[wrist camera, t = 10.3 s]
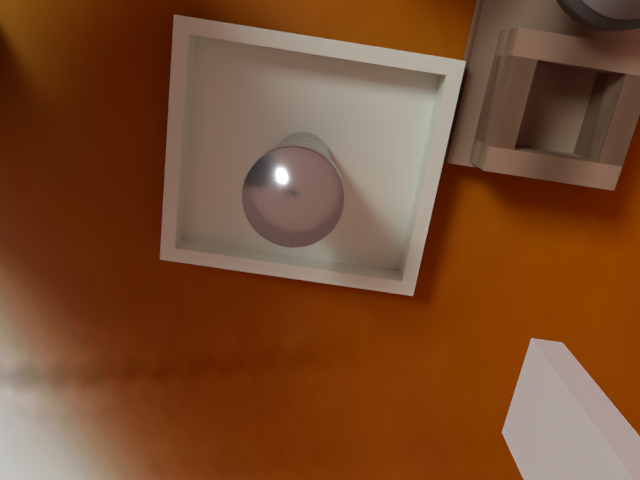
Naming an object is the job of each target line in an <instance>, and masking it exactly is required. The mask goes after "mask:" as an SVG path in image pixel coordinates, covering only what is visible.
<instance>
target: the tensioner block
mask: <svg viewBox="0 0 640 480" xmlns="http://www.w3.org/2000/svg"><path fill="white" fill-rule="evenodd" d="M463 61H466V64H465V68H464V73H463V77H462V82H461V86H460V90H459V95H458V99H457V104H456V108H455V113H454V117H453V122H452V126H451V130H450V135H449V139H448V144H447V148H446V153H445V157H444V161H445V162H446V163H449V164H456V165H463V166H469V167H476V168H480V169H481V170H483V171H488V172H495V173H501V174H508V175H514V176H521V177H527V178H534V179H541V180H547V181H554V182H560V183H567V184H573V185H580V186H586V187H593V188H599V189H606V190H613V191H614V190H615V187H616V184H617V181H618V178H619V175H620V172H621V169H622V166H623V163H624V160H625V157H626V154H627V151H628V148H629V145H630V142H631V139H632V136H633V133H634V130H635V127H636V124H637V121H638V118H639V115H640V0H476V4H475V9H474V13H473V18H472V22H471V27H470V31H469V36H468V40H467V45H466V49H465V54H464V58H463Z"/></svg>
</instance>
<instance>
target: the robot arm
mask: <svg viewBox="0 0 640 480" xmlns="http://www.w3.org/2000/svg"><path fill="white" fill-rule="evenodd" d="M502 434H503V436H504V438H505V441H506V443H507V445H508V447H509V449H510V451H511V454H512V456H513V458H514V460H515V462H516V464H517V467H518V469H519V471H520V473H521V475H522V477H523V479H524V480H640V436H639V435H638V434H637V433H636V431H635V430H634V429H633V428H632V426H631V425H630V424H629V423H628V422H627V420H626V419H625V418H624V417H623V416H622V414H621V413H620V412H619V411H618V409H617V408H616V407H615V406H614V405H613V403H612V402H611V401H610V400H609V399H608V397H607V396H606V395H605V394H604V392H603V391H602V390H601V389H600V388H599V386H598V385H597V384H596V383H595V381H594V380H593V379H592V378H591V377H590V375H589V374H588V373H587V372H586V371H585V369H584V368H583V367H582V366H581V364H580V363H579V362H578V361H577V360H576V358H575V357H574V356H573V355H572V354H571V352H570V351H569V350H568V349H567V347H566V346H565V345H564V344H563V343H562V342H555V341H548V340H541V339H534V338H531V341H530V344H529V347H528V350H527V353H526V357H525V360H524V363H523V366H522V369H521V373H520V376H519V379H518V382H517V385H516V389H515V392H514V395H513V398H512V401H511V405H510V408H509V411H508V414H507V417H506V421H505V424H504V427H503V430H502Z"/></svg>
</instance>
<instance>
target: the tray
mask: <svg viewBox="0 0 640 480" xmlns="http://www.w3.org/2000/svg"><path fill="white" fill-rule="evenodd" d="M465 64H466V61H463V60H457V59H451V58H444V57H438V56H432V55H426V54H419V53H413V52H407V51H400V50H394V49H388V48H382V47H375V46H369V45H363V44H356V43H350V42H344V41H338V40H331V39H325V38H319V37H313V36H306V35H300V34H294V33H287V32H281V31H275V30H269V29H262V28H256V27H250V26H244V25H237V24H231V23H225V22H218V21H212V20H206V19H200V18H193V17H187V16H181V15H174V18H173V36H172V53H171V71H170V88H169V106H168V123H167V141H166V158H165V175H164V193H163V210H162V228H161V245H160V260H166V261H173V262H180V263H187V264H194V265H201V266H207V267H214V268H221V269H228V270H235V271H242V272H249V273H256V274H263V275H270V276H277V277H284V278H290V279H297V280H304V281H311V282H318V283H325V284H332V285H339V286H346V287H353V288H360V289H367V290H373V291H380V292H387V293H394V294H401V295H408V296H413V295H414V290H415V286H416V281H417V277H418V272H419V268H420V264H421V259H422V255H423V250H424V246H425V241H426V237H427V233H428V228H429V224H430V219H431V215H432V210H433V206H434V201H435V197H436V193H437V188H438V184H439V179H440V175H441V170H442V166H443V161H444V157H445V153H446V148H447V144H448V139H449V135H450V130H451V126H452V122H453V117H454V113H455V108H456V104H457V99H458V95H459V90H460V86H461V82H462V77H463V73H464V68H465ZM299 132H305V133H311V134H313V135H315V136H317V137H319V138H320V139H321V140H323V141H324V143H325V144H326V145H327V147H328V148H329V151H330V154H331V159H332V161H333V163H334V164H335V166H336V167H337V169H338V171H339V173H340V175H341V178H342V182H343V189H344V207H343V212H342V215H341V217H340V220H339V221H338V223H337V225H336V226H335V228H334V229H333V230H332V231H331V232H330V233H329V234H328V235H327V236H326V237H325V238H323V239H322V240H320V241H318V242H316V243H314V244H312V245H309V246H305V247H296V248H291V247H284V246H279V245H276V244H274V243H271V242H269V241H268V240H266V239H264V238H263V237H262V236H260V235H259V234H258V233H257V232H256V231H255V230H254V229H253V228H252V226H251V225H250V223H249V222H248V220H247V218H246V215H245V213H244V210H243V205H242V188H243V184H244V181H245V178H246V176H247V174H248V172H249V171H250V169H251V167H252V166H253V165H254V163H255V162H256V161H257V160H258V158H259V157H260V156H262V155H263V154H264V153H265V152H267V151H268V150H270V149H272V148H274V147H276V146H278V145H279V144H280V143H281V141H282V140H283V139H285V138H286V137H288V136H289V135H291V134H294V133H299Z"/></svg>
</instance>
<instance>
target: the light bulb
mask: <svg viewBox="0 0 640 480" xmlns="http://www.w3.org/2000/svg"><path fill="white" fill-rule="evenodd" d="M242 205H243V210H244V213H245V215H246V218H247V220H248V222H249V223H250V225H251V226H252V228H253V229H254V230H255V231H256V232H257V233H258V234H259V235H260V236H262V237H263V238H264V239H266V240H268V241H269V242H271V243H274V244H276V245H279V246H284V247H291V248H296V247H305V246H309V245H312V244H314V243H316V242H318V241H320V240H322V239H323V238H325V237H326V236H327V235H328V234H329V233H330V232H331V231H332V230H333V229H334V228H335V226H336V225H337V223H338V221H339V220H340V217H341V215H342V212H343V207H344V189H343V182H342V178H341V175H340V173H339V171H338V169H337V167H336V166H335V164H334V163H333V161H332V159H331V154H330V151H329V148H328V147H327V145H326V144H325V143H324V141H323V140H321V139H320V138H319V137H317V136H315V135H313V134H311V133H305V132H299V133H294V134H291V135H289V136H288V137H286V138H285V139H283V140H282V141H281V143H280V144H279V145H278V146H276V147H274V148H272V149H270V150H268V151H267V152H265V153H264V154H263V155H262V156H260V157H259V158H258V160H257V161H256V162H255V163H254V165H253V166H252V167H251V169H250V171H249V172H248V174H247V176H246V178H245V181H244V184H243V188H242Z"/></svg>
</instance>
